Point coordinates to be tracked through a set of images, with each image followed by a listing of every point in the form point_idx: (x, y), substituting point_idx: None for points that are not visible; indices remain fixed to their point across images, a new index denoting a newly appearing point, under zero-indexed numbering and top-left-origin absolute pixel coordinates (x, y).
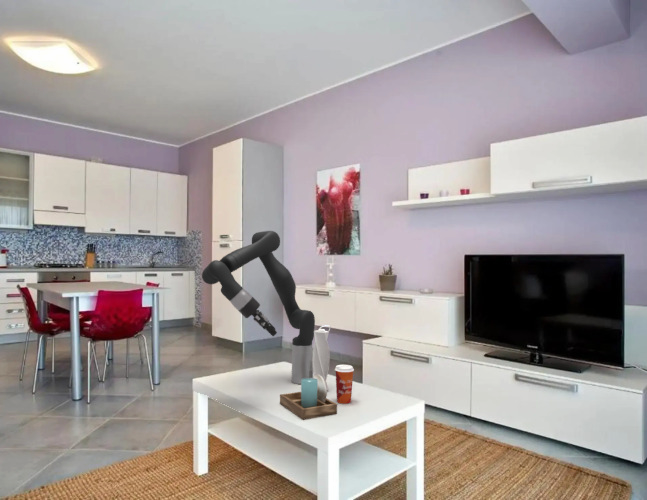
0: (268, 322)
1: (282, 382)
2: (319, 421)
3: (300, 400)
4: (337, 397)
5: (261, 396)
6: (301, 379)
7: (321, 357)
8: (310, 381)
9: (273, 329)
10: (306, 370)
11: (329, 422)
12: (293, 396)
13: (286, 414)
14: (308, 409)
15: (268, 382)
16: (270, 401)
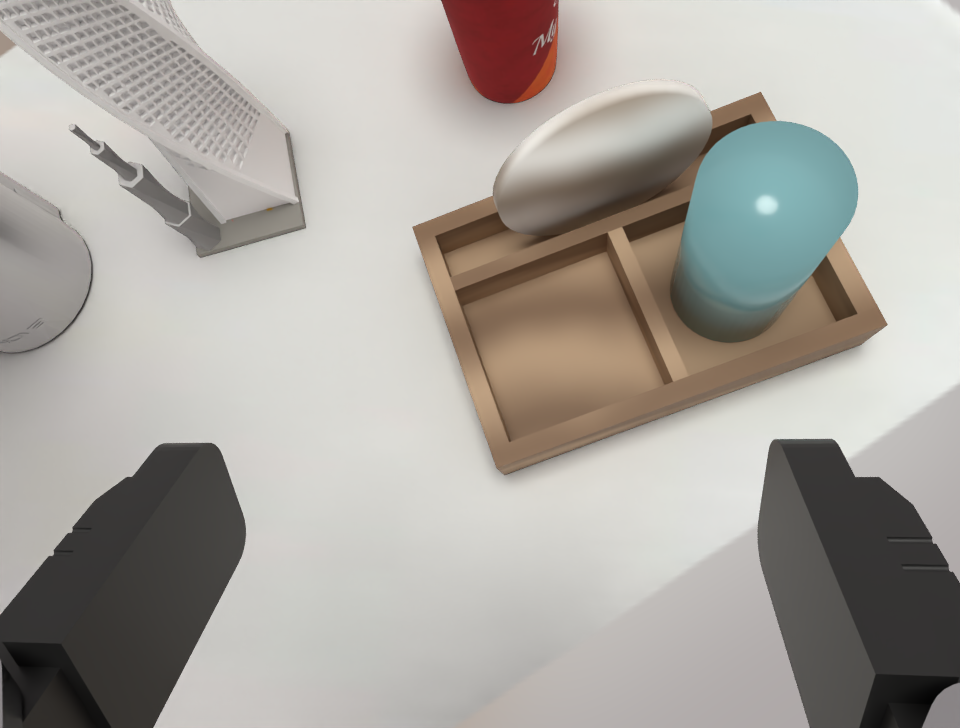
0: (8, 676)
1: (9, 420)
2: (891, 244)
3: (661, 325)
4: (521, 83)
5: (316, 603)
6: (66, 278)
7: (158, 12)
8: (841, 184)
9: (880, 540)
10: (18, 214)
11: (910, 187)
12: (483, 368)
13: (745, 445)
14: (865, 287)
15: None
16: (445, 540)
